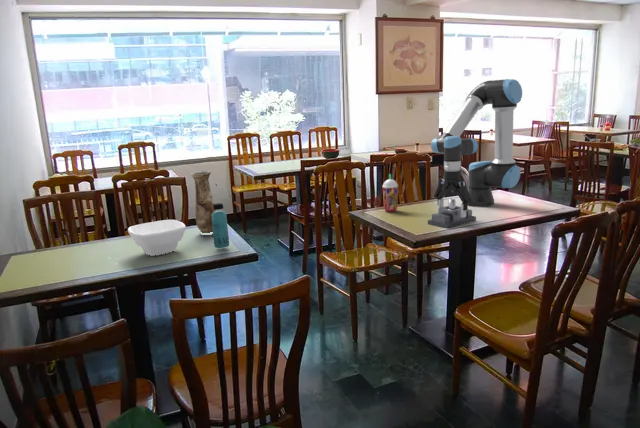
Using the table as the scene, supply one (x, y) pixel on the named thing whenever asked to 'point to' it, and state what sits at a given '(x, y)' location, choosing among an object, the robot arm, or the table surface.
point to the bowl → (157, 236)
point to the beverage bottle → (220, 227)
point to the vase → (203, 201)
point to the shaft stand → (444, 219)
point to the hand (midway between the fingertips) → (452, 214)
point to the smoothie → (390, 195)
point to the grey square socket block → (451, 213)
